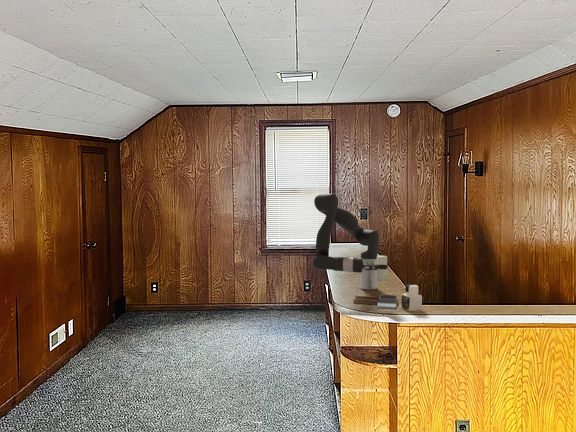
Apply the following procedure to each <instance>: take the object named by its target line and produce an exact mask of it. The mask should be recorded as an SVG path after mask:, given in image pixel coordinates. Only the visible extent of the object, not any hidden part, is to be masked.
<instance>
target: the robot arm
mask: <svg viewBox="0 0 576 432" xmlns="http://www.w3.org/2000/svg"><path fill="white" fill-rule="evenodd" d="M313 203H314V207H315V209H316V210H317V211H318V212H320V213H321V214H323V215H325V218H324V221H323V223H322V224H321V226H320V228H319V229H318V231H317V232H316V233H317V235H316V238H315V239H316V240H315V252H316V253H315V255H316V256H315V257H314V258H313V259H312V265H313V267H314V268H315V269H316V270H317V271H322V272H323V271H327V270H331V271H335V272H345V273H346V272H347V273H360V281H359V282H360V283H359V286H360V289H362V290H368V291H369V290H370V291H371V290H376V289H378V288H377V287H378V286H377V285H378V281H377V280H376V276H377V270H379V269H387V270H388V267H389V263H388V262H387V265H379V264H377V256H379V249H380V248H379V247H380V246H379V245H380V236H379V235H380V234H379V232H378V231H377V230H374V229H366V228H363V227H361V226H360V225H359V220H358V218H357V217H356V216H355V214H353V213H352V212H351V211H349V210H347V209H344V208H342V207H338V206H339V199H338V196H337V194H335V193H321V194H318V195H316V196H315V197H314V200H313ZM334 223H336V224H337V225H338V226H339V227H340V228H342V229H343V230H344V231H346V232H347V233H348V234H350V235H351V237H352V238H354V239H355V240H356V241H357V243H358V244H359V245H361V246H365V247H367V250H366V251H363V252H361V253H360V257H359V256H330V253H329V252H330V244H331V235H332V230H333V226H334Z"/></svg>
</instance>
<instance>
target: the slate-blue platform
mask: <svg viewBox="0 0 576 432" xmlns="http://www.w3.org/2000/svg"><path fill="white" fill-rule="evenodd" d="M397 304H398V303H380V302H379V301H378V302H377V304H376V308H377V309H390V310H396V309H397Z"/></svg>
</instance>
